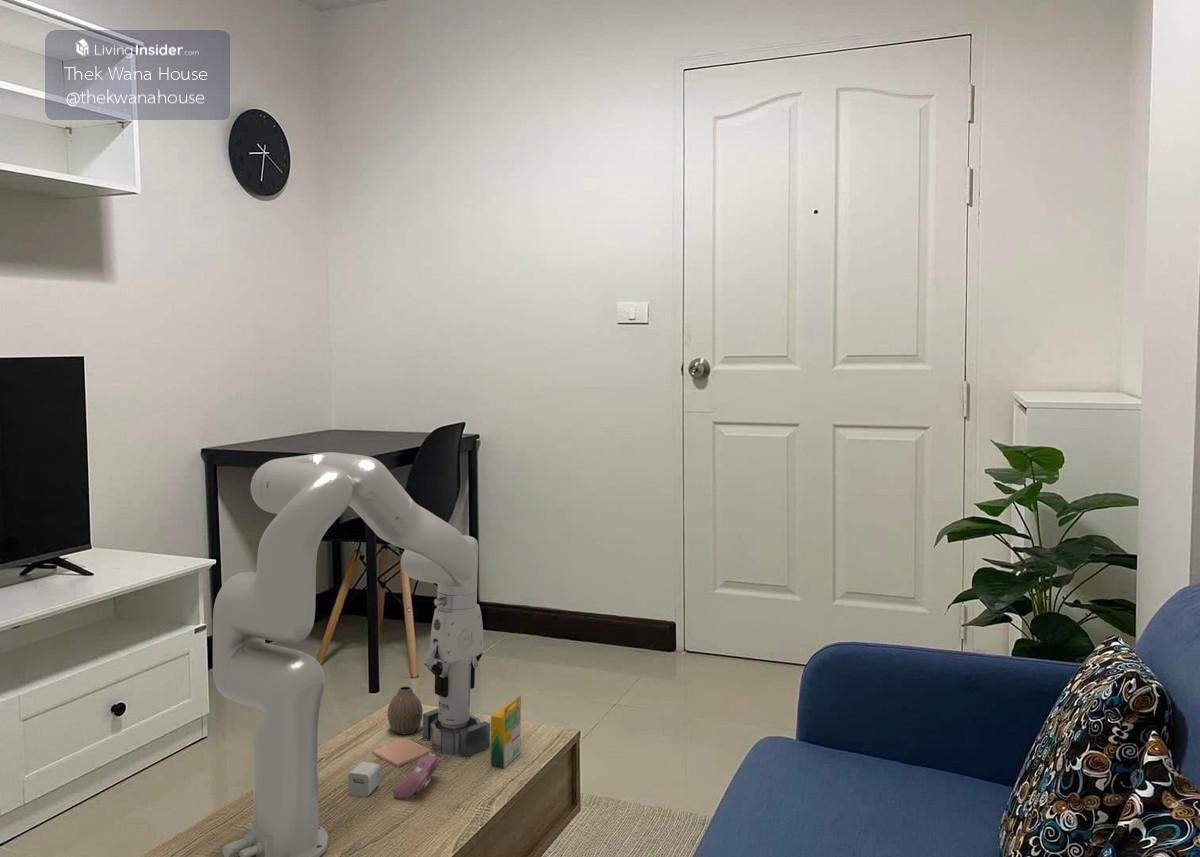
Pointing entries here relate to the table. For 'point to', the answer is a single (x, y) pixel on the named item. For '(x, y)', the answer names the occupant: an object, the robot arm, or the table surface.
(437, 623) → the robot arm
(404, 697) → the vase
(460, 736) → the ring holder
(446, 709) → the energy drink can
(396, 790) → the video game controller
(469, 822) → the table surface
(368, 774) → the usb wall charger
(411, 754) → the coaster
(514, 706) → the crayon box
